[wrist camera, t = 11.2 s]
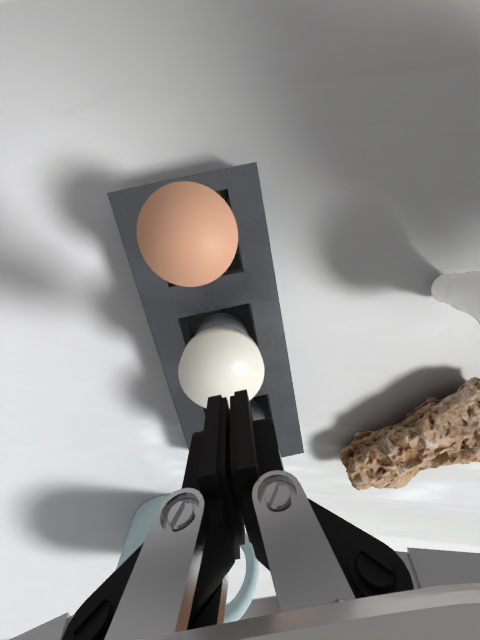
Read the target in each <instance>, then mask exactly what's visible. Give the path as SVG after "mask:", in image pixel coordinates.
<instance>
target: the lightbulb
mask: <svg viewBox="0 0 480 640" xmlns="http://www.w3.org/2000/svg"><path fill="white" fill-rule="evenodd" d="M431 293H432V296H433V298H434V299H435V300H437V301H440V302H443V303H446V304H449V305H451V306H452V307H454V308H455V309H457V310H460V311H463V312H466V313H468V314H470V315H471V316H473V317H474V318H475V319H476V320H477V321H478V323H479V324H480V272H475V271H471V272H466V273H463V274H461V273H445V274H442V275H440V276H439V277H438V278H436V279H435V281H434V282H433V284H432V287H431Z"/></svg>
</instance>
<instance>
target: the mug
mask: <svg viewBox="0 0 480 640" xmlns="http://www.w3.org/2000/svg"><path fill="white" fill-rule="evenodd" d="M169 495H171V494H166V495H161V496H158V497H155V498H152V499H150V500H148V501H147V502H145V503H144V504H143V505H142V506H141V507H140V508H139V509H138V510H137V511H136V513H135V515H134V517H133V520H132V523H131V526H130V529H129V532H128V535H127V538H126V541H125V544H124V547H123V550H122V553H121V556H120V559H119V562H118V565H117V568H116V570H117V569H118V568H119V567H120V566H121V565H122V564H123V563H124V562H125V561H126V560H127V559H128V558H129V557H130V556H131V555H132V554H133V553H134V552H135V551H136V550H137V549H138V548H139V547H140V546H141V544H142V543H143V542H144V541H145V539H146V537H147V534H148V532H149V529H150V527H151V524H152V522H153V520H154V517H155V515H156V512H157V510H158V509H159V507H160V505H161V504H162V502H163V501H164V500H165V499H166V498H167V497H168V496H169ZM240 547H241V548H242V549H243V552H244V554H245V558H246V574H245V579H244V582H243V584H242V587H241V589H240V591H239V592H238V594H237V595H236V597H235V598H234V599H233V600H232V601H231V602H230V603H229V604H227V605H226V606H225V615H224V623H228V622H233V621H237V620H238V619H240V617H242V616H243V614H244V612H245V611H246V610H247V608H248V606H249V605H250V603H251V601H252V598H253V595H254V593H255V590H256V585H257V580H258V560H257V559H256V557H255V553H254V549H253V546H252V543H250V542H249V539H248V535H247V534H246V533H245V545H240Z"/></svg>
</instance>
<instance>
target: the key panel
mask: <svg viewBox="0 0 480 640" xmlns="http://www.w3.org/2000/svg"><path fill="white" fill-rule="evenodd" d="M180 181H189V182H196V183H199V184H202V185H204V186H207V187H209V188H210V189H212V190H214V191H215V192H216V193H217V194H219V195H220V196H221V197H222V198H227V201H228V206H229V207H230V209H231V211H232V213H233V215H234V217H235V220H236V224H237V229H238V245H237V251H238V256H239V261H240V266H241V269H237V270H232V271H227V272H224V273H223V274H222V275H221V276H220V277H219V278H217V279H216V280H214V281H212V282H210V283H208V284H205V285H202V286H196V287H184V286H179V285H175V284H172V283H170V282H168V281H166V280H164V279H162V278H161V277H159V276H158V275H157V274H156V273H155V272H154V271H153V270H152V269H151V268H150V267H149V266H148V264H147V263H146V261H145V260H144V258H143V256H142V254H141V252H140V249H139V246H138V242H137V234H136V233H137V221H138V217H139V213H140V211H141V209H142V206H143V205H144V203H145V202H146V200H147V199H148V198H149V197H150V195H152V194H153V193H154V192H155V191H156V190H158V189H159V188H161V187H163V186H165V185H167V184H170V183H173V182H180ZM107 194H108V197H109V200H110V203H111V206H112V210H113V213H114V216H115V219H116V222H117V225H118V228H119V232H120V235H121V238H122V241H123V244H124V247H125V251H126V254H127V257H128V260H129V263H130V266H131V269H132V273H133V276H134V279H135V282H136V285H137V288H138V291H139V295H140V298H141V301H142V304H143V307H144V310H145V313H146V317H147V320H148V323H149V326H150V329H151V332H152V335H153V339H154V342H155V345H156V348H157V351H158V354H159V357H160V361H161V364H162V367H163V370H164V373H165V376H166V380H167V383H168V386H169V389H170V392H171V395H172V398H173V402H174V405H175V408H176V411H177V414H178V417H179V420H180V424H181V427H182V430H183V433H184V436H185V439H186V442H187V446H188V449H189V450H190V445H191V440H192V435H193V433H194V432H199V431H203V429H204V422H205V415H206V408H204V407H202V406H200V405H198V404H196V403H195V402H193V401H192V400H191V399H190V398H189V397H188V396H187V395H186V394H185V392H184V391H183V389H182V387H181V384H180V381H179V376H178V368H179V363H180V360H181V357H182V354H183V352H184V349H185V347H186V345H187V344H188V343H189V341H190V340H191V335H190V332H189V328H188V324H187V321H186V317H187V316H192V315H196V314H201V313H206V312H210V311H215V310H220V309H224V308H229V307H234V306H238V305H243V304H248V306H249V311H250V316H251V321H252V326H253V331H254V336H255V341H256V345H257V347H258V349H259V351H260V354H261V356H262V359H263V363H264V379H263V383H262V385H261V387H260V389H259V391H258V392H257V394H256V395H255V396H254V397H256V396H261V395H265V394H266V397H267V402H268V407H269V412H270V417H271V421H272V425H273V429H274V433H275V437H276V441H277V446H278V449H279V452H280V455H281V458H282V457H286V456H291V455H295V454H300V453H304V450H303V444H302V438H301V432H300V426H299V420H298V414H297V407H296V401H295V395H294V389H293V383H292V377H291V371H290V365H289V359H288V352H287V346H286V340H285V334H284V328H283V322H282V316H281V310H280V303H279V297H278V291H277V285H276V279H275V273H274V267H273V261H272V255H271V248H270V242H269V236H268V230H267V224H266V218H265V212H264V206H263V199H262V193H261V187H260V181H259V175H258V169H257V163H256V162H255V163H250V164H245V165H240V166H235V167H231V168H226V169H221V170H216V171H211V172H207V173H202V174H197V175H192V176H187V177H183V178H178V179H173V180H168V181H164V182H159V183H154V184H149V185H144V186H140V187H135V188H130V189H125V190H120V191H116V192H111V193H107Z"/></svg>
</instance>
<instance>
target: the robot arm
mask: <svg viewBox="0 0 480 640" xmlns="http://www.w3.org/2000/svg"><path fill="white" fill-rule="evenodd" d="M244 524H245V527H244ZM245 528H246V531H247V535H248V539H249V542H250V543H252V546H253V549H254V553H255V557H256V559H257V560H258V561H259V562H261V563H262V564H263V565H264V566H265V567H266V568H267V569H268V570H269V571H270V572H271V576H272V580H273V584H274V588H275V592H276V596H277V600H278V603H279V608H280V612H281V613H277V614H271V615H265V616H260V617H255V618H249V619H244V620H239V621H233V622H228V623H224V615H225V606H226V598H227V589H228V575H227V573H228V572H229V570H230V569H231V567H232V566H233V564H234V563H235V560H236V559H240V545H245ZM10 640H480V553H469V552H456V551H444V550H431V549H419V548H407V552H397V551H394V550H393V549H391V548H390V547H389V546H387V545H386V544H385V543H383V542H381V541H380V540H378V539H376V538H374V537H373V536H371V535H369V534H368V533H366V532H364V531H363V530H361V529H359V528H357V527H356V526H354V525H352V524H351V523H349V522H347V521H346V520H344V519H342V518H340V517H339V516H337V515H335V514H334V513H332V512H330V511H329V510H327V509H325V508H323V507H322V506H320V505H318V504H317V503H315V502H313V501H312V500H310V499H308V498H307V497H306V495H305V492H304V490H303V488H302V486H301V484H300V483H299V481H298V480H297V478H296V477H294V476H293V475H292V474H291V473H288V472H285V471H284V470H283V466H282V462H281V458H280V454H279V450H278V446H277V441H276V437H275V433H274V429H273V425H272V421H271V417H269V418H264V419H259V420H253V415H252V411H251V406H250V402H249V397H248V393H247V389H246V390H241V391H236V392H234V396H230V408H229V404H228V400H227V397H224V398H222V396H221V395H216V396H211V397H208V401H207V408H206V415H205V422H204V429H203V431H199V432H194V433H193V435H192V440H191V445H190V450H189V455H188V460H187V465H186V470H185V475H184V480H183V485H182V489H180V490H178V491H175V492H173V493H172V494H171V495H169V496H168V497H167V498H166V499H165V500H164V501H163V502H162V504H161V505H160V507H159V509H158V510H157V512H156V515H155V517H154V520H153V522H152V524H151V527H150V529H149V532H148V534H147V537H146V539H145V541H144V542H143V543H142V544H141V546H140V547H139V548H138V549H137V550H136V551H135V552H134V553H133V554H132V555H131V556H130V557H129V558H128V559H127V560H126V561H125V562H124V563H123V564H122V565H121V566H120V567H119V568H118V569H117V570H116V571H115V572H114V573H113V574H112V575H111V576H110V577H109V578H108V579H107V580H106V581H105V582H104V583H103V584H102V585H101V586H100V587H99V588H98V589H97V590H96V591H95V592H94V593H93V594H92V595H91V596H90V597H89V598H88V599H87V600H86V601H85V602H84V603H83V604H82V605H81V607H80V608H79V609H78V610H77V611H76V613H75V615H73V616H70V615H69V613H65V614H63V615H61V616H59V617H57V618H55V619H53V620H51V621H48V622H46V623H44V624H42V625H40V626H38V627H36V628H34V629H31V630H29V631H27V632H25V633H23V634H21V635H19V636H17V637H14V638H12V639H10Z"/></svg>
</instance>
